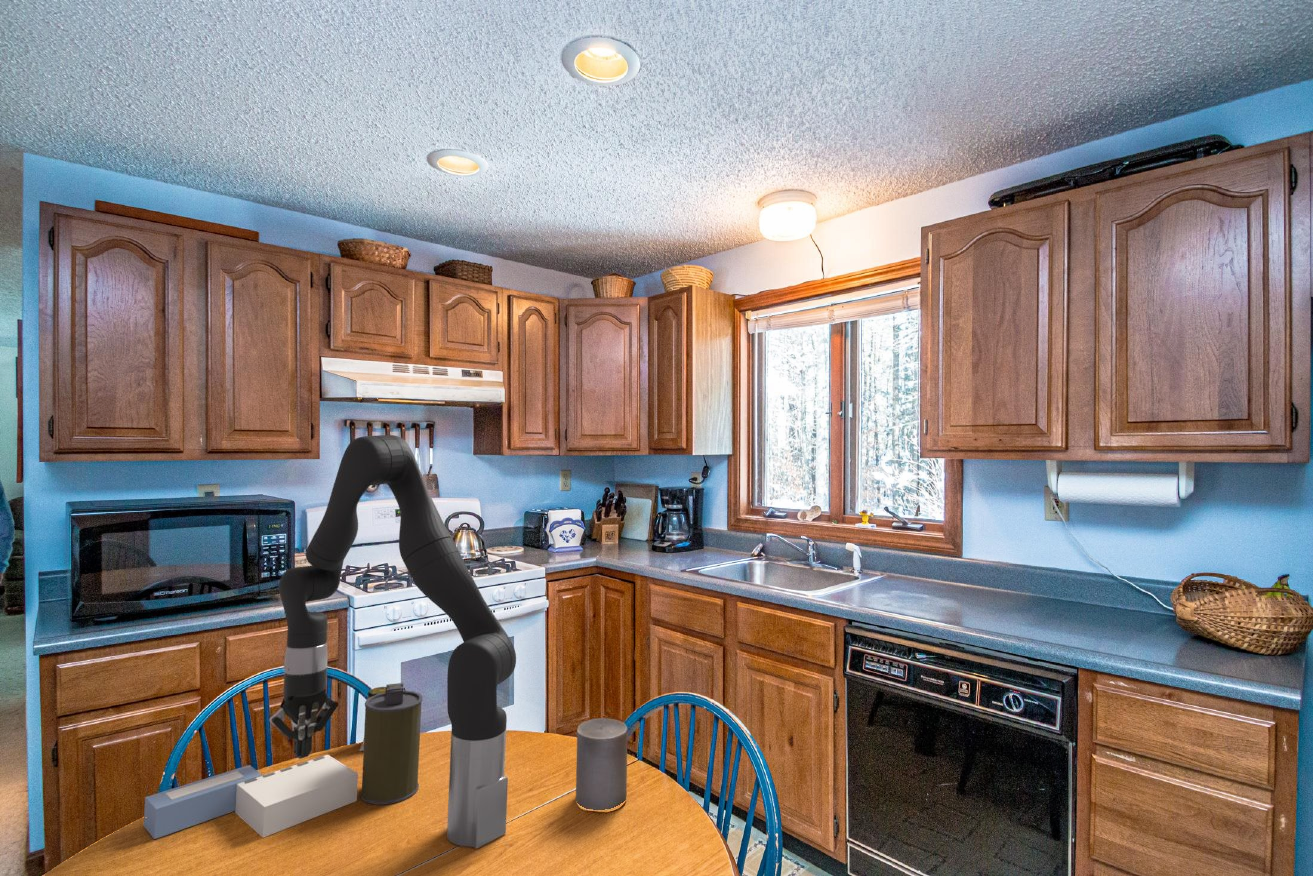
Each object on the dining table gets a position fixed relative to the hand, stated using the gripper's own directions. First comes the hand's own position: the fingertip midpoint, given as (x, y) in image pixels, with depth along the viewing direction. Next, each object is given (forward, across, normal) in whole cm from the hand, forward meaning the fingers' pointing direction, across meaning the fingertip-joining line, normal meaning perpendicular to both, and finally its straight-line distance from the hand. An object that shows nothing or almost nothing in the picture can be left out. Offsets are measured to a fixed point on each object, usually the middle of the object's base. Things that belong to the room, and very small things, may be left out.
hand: (302, 756), depth 127 cm
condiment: (+5, +19, +6) cm, 21 cm away
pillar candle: (+6, +34, -49) cm, 60 cm away
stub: (+5, -16, 0) cm, 17 cm away
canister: (+5, +10, -16) cm, 19 cm away
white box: (+5, -4, -9) cm, 11 cm away
